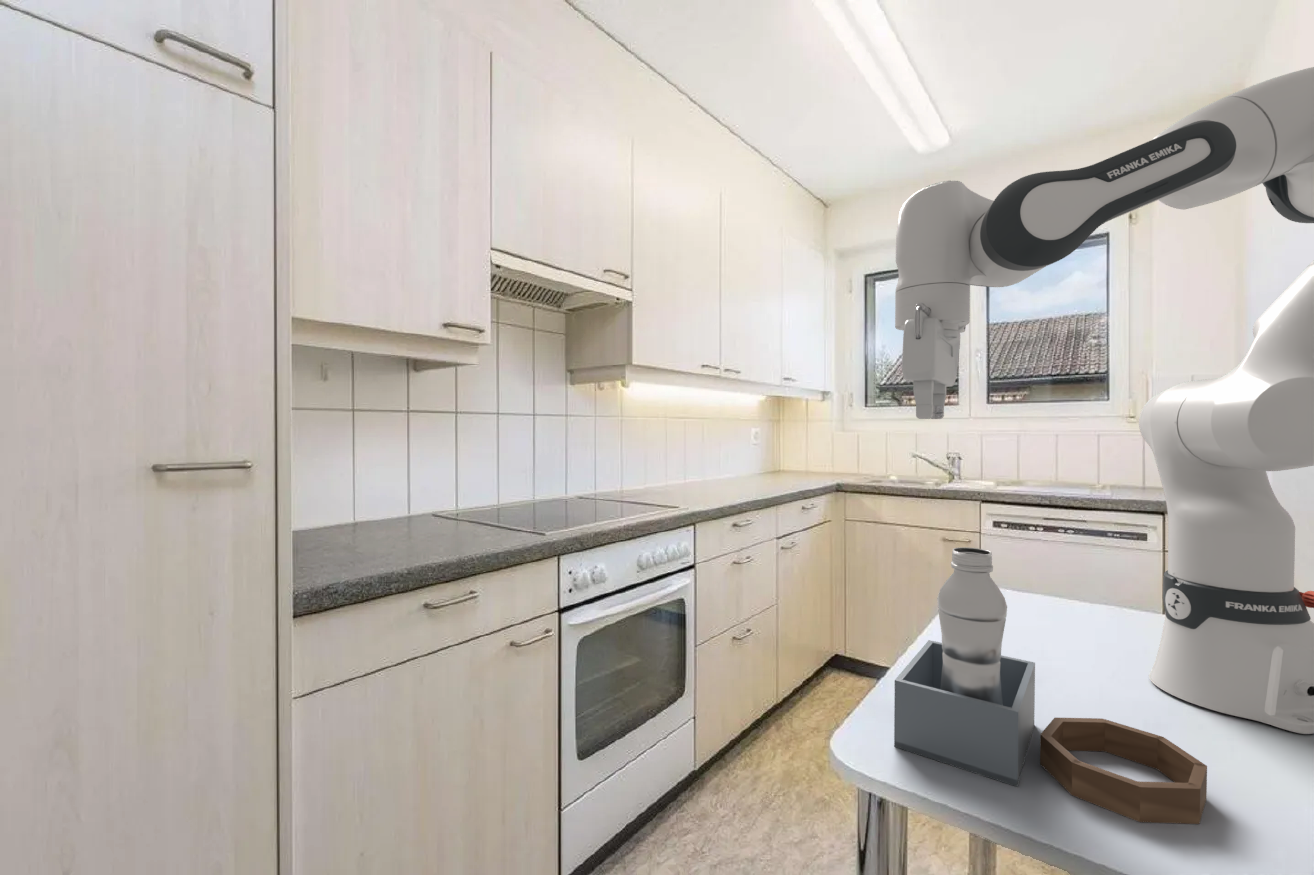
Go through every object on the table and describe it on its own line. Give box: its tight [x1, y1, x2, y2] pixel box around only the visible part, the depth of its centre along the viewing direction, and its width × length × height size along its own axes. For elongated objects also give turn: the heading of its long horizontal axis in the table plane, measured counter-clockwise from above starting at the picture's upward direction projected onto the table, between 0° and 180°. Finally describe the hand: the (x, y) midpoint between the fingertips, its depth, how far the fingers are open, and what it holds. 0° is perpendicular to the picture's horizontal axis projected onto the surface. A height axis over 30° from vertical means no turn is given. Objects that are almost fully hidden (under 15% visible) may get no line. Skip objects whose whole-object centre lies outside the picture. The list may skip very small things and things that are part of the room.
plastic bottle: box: [936, 546, 1008, 705], centre depth 60 cm, size 6×7×20 cm
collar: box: [1039, 717, 1208, 825], centre depth 55 cm, size 12×12×3 cm
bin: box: [893, 639, 1036, 788], centre depth 63 cm, size 14×11×7 cm
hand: (930, 419), depth 77 cm, fingers open, 8 cm apart
